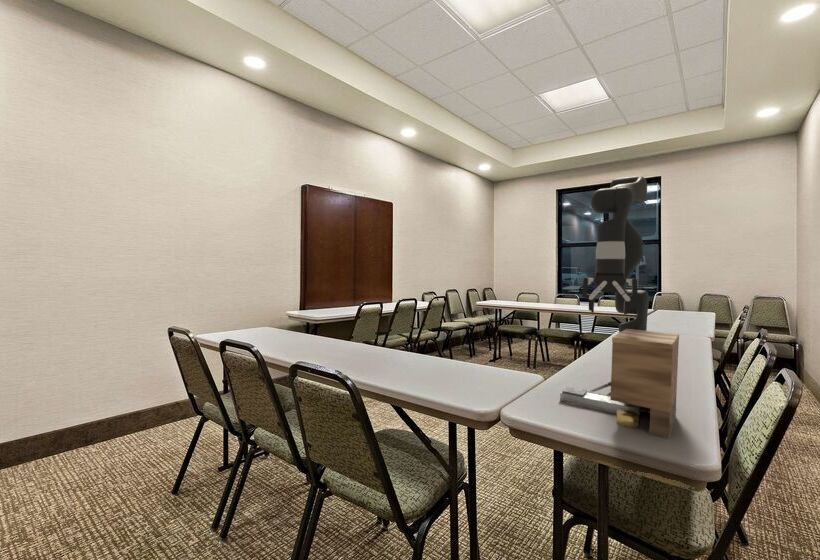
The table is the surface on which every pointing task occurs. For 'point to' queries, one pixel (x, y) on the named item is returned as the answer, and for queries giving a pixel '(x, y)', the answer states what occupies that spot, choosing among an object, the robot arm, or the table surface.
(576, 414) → the table surface
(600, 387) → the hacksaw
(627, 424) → the puck
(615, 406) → the bar
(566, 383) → the table surface
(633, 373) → the wooden grain block
